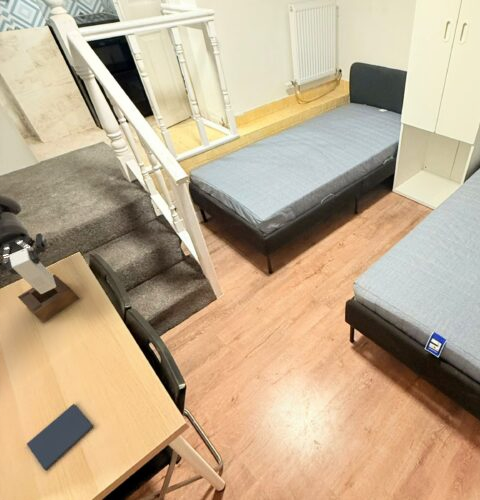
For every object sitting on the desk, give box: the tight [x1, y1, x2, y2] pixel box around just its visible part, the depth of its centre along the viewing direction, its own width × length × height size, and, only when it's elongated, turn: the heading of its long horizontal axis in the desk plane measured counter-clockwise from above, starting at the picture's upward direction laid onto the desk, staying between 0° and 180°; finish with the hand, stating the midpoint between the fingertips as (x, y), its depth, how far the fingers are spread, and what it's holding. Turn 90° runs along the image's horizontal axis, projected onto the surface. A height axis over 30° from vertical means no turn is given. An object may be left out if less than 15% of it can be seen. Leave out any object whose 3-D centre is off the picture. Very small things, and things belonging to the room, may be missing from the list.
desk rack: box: [17, 273, 80, 324], centre depth 106 cm, size 11×11×5 cm
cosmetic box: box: [9, 248, 56, 294], centre depth 93 cm, size 6×4×12 cm
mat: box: [26, 403, 94, 471], centre depth 79 cm, size 11×9×1 cm
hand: (25, 266), depth 89 cm, fingers closed on cosmetic box, 4 cm apart
